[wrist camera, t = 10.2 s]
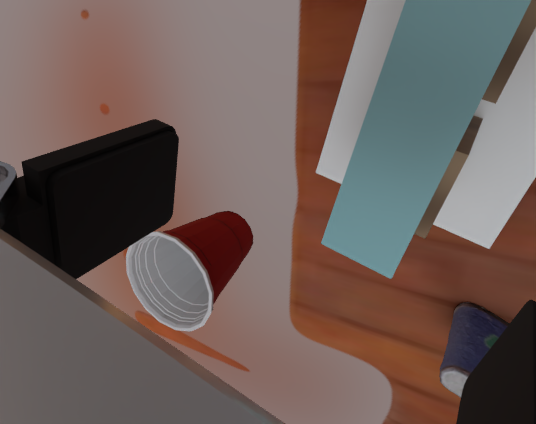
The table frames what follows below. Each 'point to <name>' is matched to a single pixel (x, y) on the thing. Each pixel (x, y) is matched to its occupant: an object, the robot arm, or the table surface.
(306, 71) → the table surface
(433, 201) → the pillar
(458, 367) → the flask
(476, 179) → the board
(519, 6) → the beam
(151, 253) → the plastic cup
